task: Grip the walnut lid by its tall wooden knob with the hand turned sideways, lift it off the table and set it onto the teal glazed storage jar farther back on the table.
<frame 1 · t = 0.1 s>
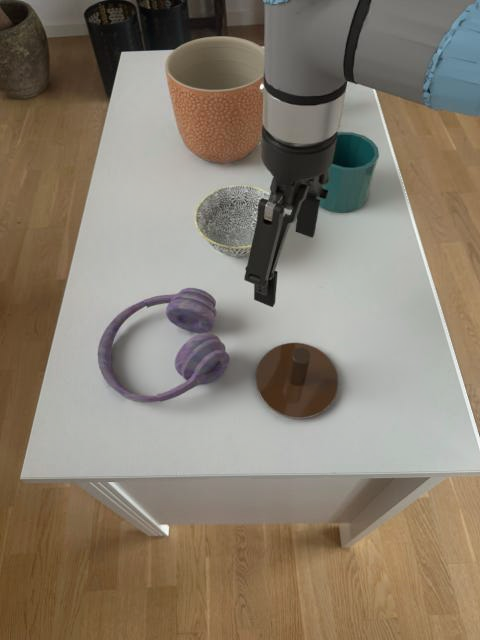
hand: (285, 265, 61), 17 cm above the table, tool pointing down, fingers open, 13 cm apart
planter: (222, 147, 103), on the table
headphones: (164, 355, 73), on the table
pill bottle: (325, 112, 109), on the table
supplement bottle: (285, 96, 114), on the table
storage jar: (338, 193, 93), on the table
bowl: (239, 243, 86), on the table
jar lid: (296, 379, 69), point 1 cm above the table
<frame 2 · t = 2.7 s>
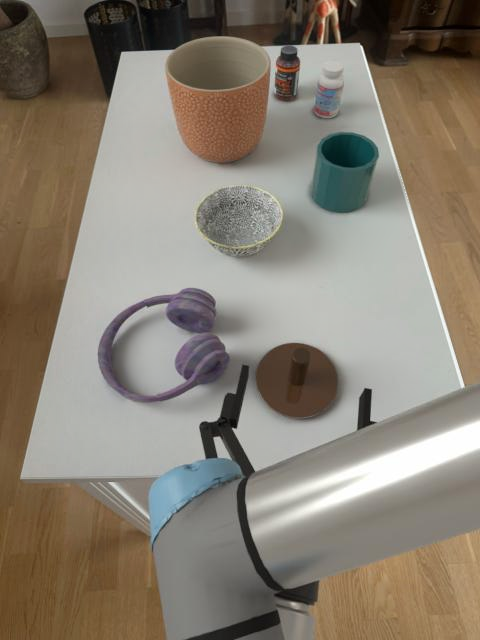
hand: (304, 381, 50), 18 cm above the table, tool horizontal, fingers open, 13 cm apart
nothing on the table moved.
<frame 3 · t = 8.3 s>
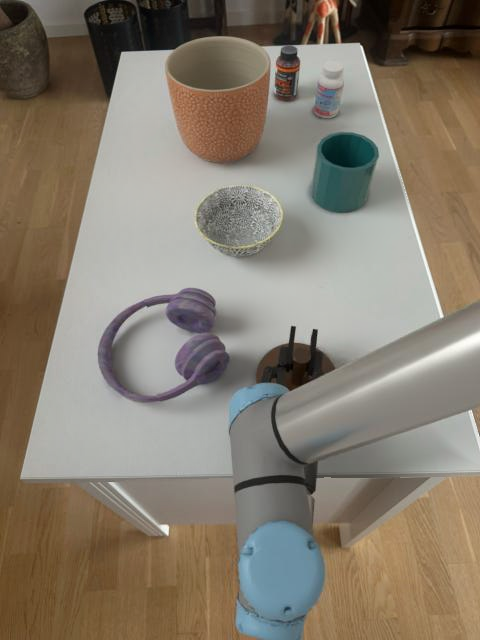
hand: (303, 332, 68), 6 cm above the table, tool horizontal, fingers closed on jar lid, 3 cm apart
jar lid: (296, 379, 69), point 1 cm above the table, touching gripper
everything else where it was.
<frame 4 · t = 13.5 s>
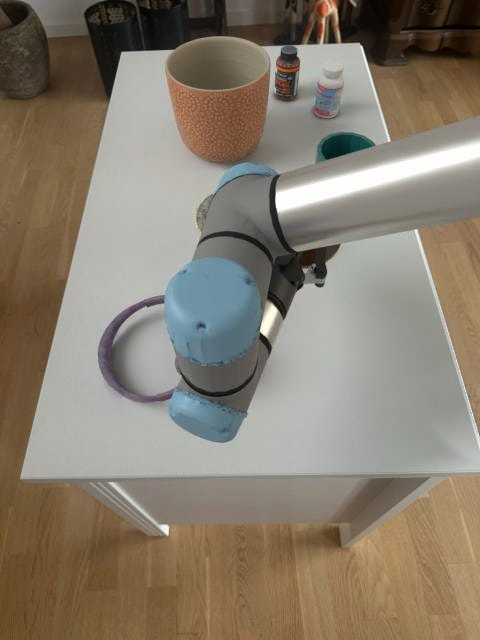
hand: (312, 181, 63), 22 cm above the table, tool horizontal, fingers closed on jar lid, 3 cm apart
jar lid: (297, 235, 64), point 17 cm above the table, touching gripper
everything else where it was.
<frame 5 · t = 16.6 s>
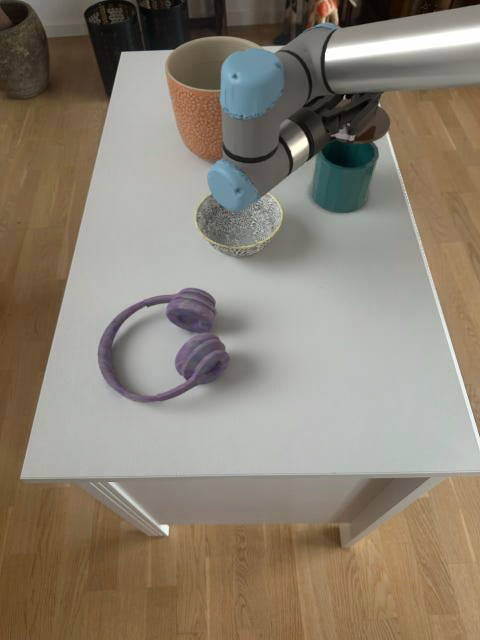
hand: (377, 79, 77), 22 cm above the table, tool horizontal, fingers closed on jar lid, 3 cm apart
jar lid: (353, 121, 79), point 17 cm above the table, touching gripper
everything else where it was.
when the fingers open (16 cm above the table, at t = 18.9 s): jar lid stays where it is, resting on storage jar.
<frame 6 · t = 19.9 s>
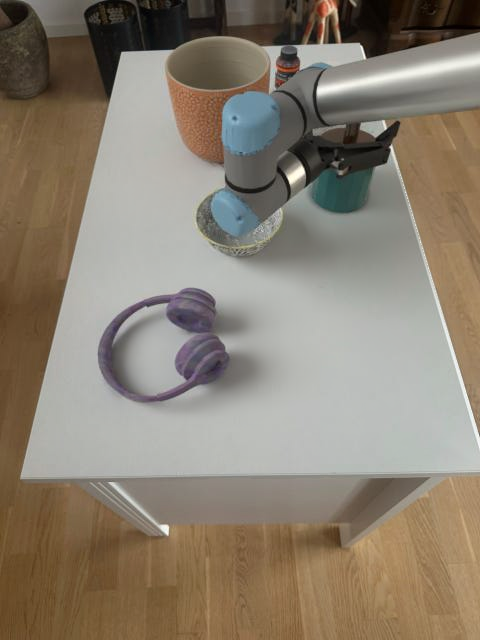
hand: (364, 113, 81), 17 cm above the table, tool horizontal, fingers open, 13 cm apart
jar lid: (347, 150, 84), point 10 cm above the table, touching storage jar
everything else where it was.
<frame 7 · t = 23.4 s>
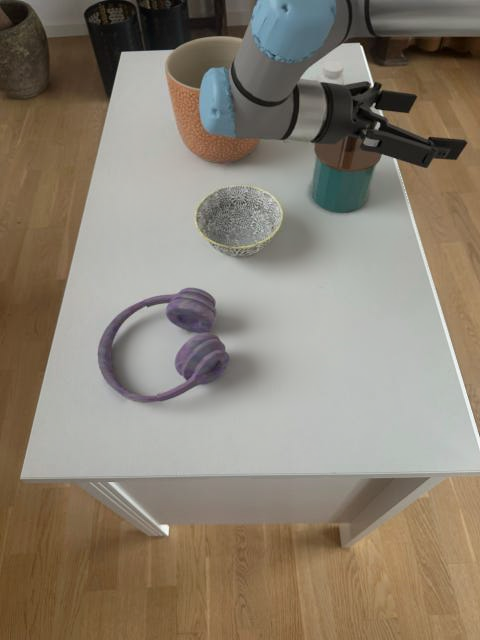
hand: (434, 125, 67), 23 cm above the table, tool tilted 75°, fingers open, 13 cm apart
nothing on the table moved.
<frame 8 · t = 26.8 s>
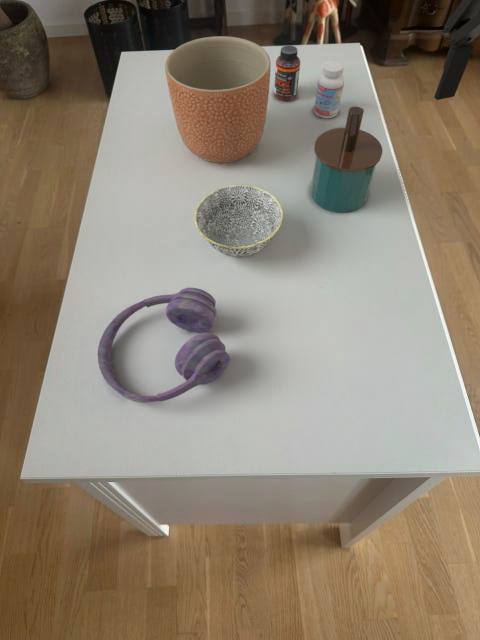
hand: (471, 124, 58), 29 cm above the table, tool pointing down, fingers open, 13 cm apart
nothing on the table moved.
at the end: jar lid 0.0 cm off-centre on the storage jar, point 10.5 cm above the storage jar's base; jar lid tilted 0°; the gripper is holding nothing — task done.
